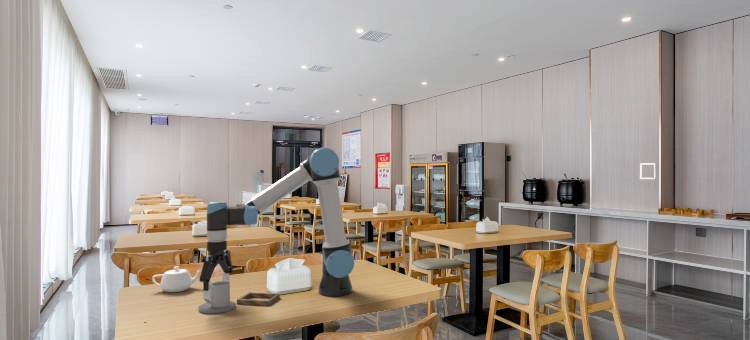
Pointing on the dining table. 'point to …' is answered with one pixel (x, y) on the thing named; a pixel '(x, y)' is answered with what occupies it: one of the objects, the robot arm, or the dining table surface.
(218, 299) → the cup
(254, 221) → the robot arm
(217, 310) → the coaster
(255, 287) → the dining table surface
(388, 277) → the dining table surface
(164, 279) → the teapot
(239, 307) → the dining table surface
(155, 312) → the dining table surface
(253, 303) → the brown wooden tray
